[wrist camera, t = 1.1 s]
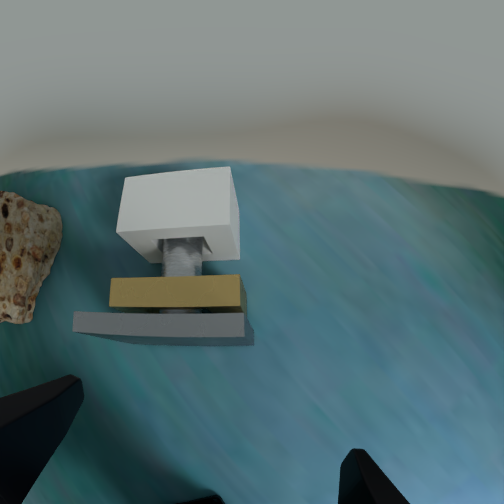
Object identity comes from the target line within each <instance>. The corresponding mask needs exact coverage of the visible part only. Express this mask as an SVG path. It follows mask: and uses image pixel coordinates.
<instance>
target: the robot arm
mask: <svg viewBox="0 0 504 504" xmlns="http://www.w3.org/2000/svg"><path fill="white" fill-rule="evenodd" d="M83 400H84V392H83V385H82V380H81V379H80V378H78V377H76V376H74V375H67V376H64V377H61V378H58V379H55V380H53V381H50V382H47V383H44V384H41V385H38V386H35V387H32V388H29V389H26V390H23V391H20V392H17V393H14V394H11V395H8V396H5V397H1V398H0V504H22V502H23V500H24V499H25V497H26V496H27V494H28V492H29V491H30V489H31V488H32V486H33V484H34V483H35V481H36V480H37V478H38V476H39V475H40V473H41V472H42V470H43V469H44V467H45V466H46V464H47V462H48V461H49V459H50V458H51V456H52V455H53V453H54V452H55V450H56V449H57V447H58V446H59V444H60V443H61V441H62V440H63V438H64V437H65V435H66V433H67V432H68V430H69V428H70V426H71V424H72V422H73V420H74V418H75V416H76V414H77V412H78V410H79V408H80V406H81V404H82V402H83ZM214 499H217V500H218V501H219V502H215V501H214ZM177 504H225V503H224V501H223V500H222V498H221V497H220V496H218V495H213V496H209V497H205V498H201V499H196V500H192V501H187V502H182V503H177ZM338 504H410V503H409V502H408V501H407V500H406V499H405V497H404V496H403V495H402V494H401V493H400V492H399V490H398V489H397V488H396V487H395V486H394V484H393V483H392V482H391V481H390V480H389V478H388V477H387V476H386V475H385V474H384V472H383V471H382V470H381V469H380V468H379V466H378V465H377V464H376V463H375V462H374V460H373V459H372V458H371V457H370V456H369V454H368V453H367V452H366V451H365V450H364V449H355V448H354V449H352V450H350V452H349V453H348V455H347V456H346V458H345V459H344V460H343V462H342V464H341V467H340V482H339V495H338Z"/></svg>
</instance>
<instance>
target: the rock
mask: <svg viewBox="0 0 504 504" xmlns="http://www.w3.org/2000/svg"><path fill="white" fill-rule="evenodd" d="M62 235H63V234H62V221H61V215H60V213H59V212H58V211H57V209H55V208H53V207H48V206H47V205H40V204H36V203H35V202H33V201H28V200H26V199H24V198H23V197H21V196H19V195H17V194H16V193H14V192H11V193H9V192H5V191H0V323H1V322H3V321H8V322H11V323H15V324H23V323H28V322H30V321H31V320H32V318H33V311H34V307H35V299H36V297H37V295H38V293H39V288H40V286H42V281H43V280H44V279H45V278H46V277H47V276H48V275H49V274H50V268H51V266H52V264H53V261H54V258H55V256H56V254H57V252H58V250H59V248H60V244H61V239H62Z"/></svg>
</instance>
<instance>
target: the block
mask: <svg viewBox="0 0 504 504" xmlns="http://www.w3.org/2000/svg"><path fill="white" fill-rule="evenodd" d="M116 233H117V234H119V235H120V236H121V237H122V238H123V239H124V240H125V241H126V242H127V243H128V244H129V245H131V246H132V247H133V248H134V249H135V250H136V251H137V252H138V253H139V254H140V255H142V256H143V257H144V258H145V259H146V260H147V261H148V262H149V263H162V256H163V243H164V239H168V238H185V237H203V249H202V261H219V260H240V232H239V208H238V203H237V199H236V194H235V189H234V184H233V179H232V174H231V169H230V167H218V168H206V169H194V170H184V171H174V172H165V173H157V174H148V175H141V176H133V177H126V178H125V182H124V187H123V193H122V198H121V204H120V210H119V216H118V222H117V229H116Z"/></svg>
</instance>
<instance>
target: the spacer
mask: <svg viewBox="0 0 504 504" xmlns="http://www.w3.org/2000/svg"><path fill="white" fill-rule="evenodd" d="M109 307H112V308H114V309H117V310H119V311H122V312H124V313H137V314H160V310H188V309H208V310H209V311H211V312H212V313H244V314H245V316H246V317H247V297H246V291H245V288H244V285H243V282H242V280H241V277H240V274H235V275H208V276H178V277H140V278H111V287H110V300H109Z"/></svg>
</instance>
